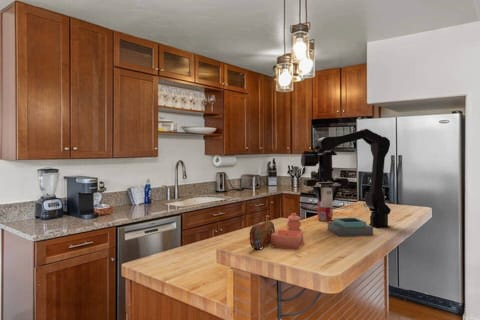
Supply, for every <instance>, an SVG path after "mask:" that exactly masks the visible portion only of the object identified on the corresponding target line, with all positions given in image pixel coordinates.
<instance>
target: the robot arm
mask: <svg viewBox="0 0 480 320" xmlns="http://www.w3.org/2000/svg"><path fill="white" fill-rule="evenodd" d="M358 140H363V141H364V142H365V143H366V144H368V145H369V146H370V152H371V155H372V167H371V169H372V170H371V179H370V189H369V191H365V193H364V195H365V196H364V199H363V200H364V202H365V205H366V206H367V208H368V209H369V211H370V216H369V218H370V219H369V221H370V223H369V225H368V226H371V227H373V228H376V229H379V228H380V227H384V228H391V226H390V225H389V214H390V213H391V211H392V209H391V208H390V207H389V206H388V205H387V204H386V199H385V194H384V191H383V182H384V173H385V172H384V171H385V158H386V156H387V154H388V153H389V150H390V146H391V140H390V139H389V138H388V137H386V136H382V135H380V134H378V133H376V132H373V131H372V130H370V129H368V128H364V129H360V130H358V131H353V132H352V131H351V132H350V133H345V134H342V135H336V136H325V137H320V138H318V140H317V142H316V145H315V147H314V148H313V150H312V151H310V150H309V151H307V150H302V152H301V153H302V154H301V157H300V165H301V167H303V168H304V167H306V168H307V167H316V166H317V165H318V168H317V171H316V170H313V171H310V178H305V179H304V180H303V185H302V186H306V187H310V188H312V189H313V190H314V192H315V194H316V198H317V201H318V200H319V202H321V188H322V187H321V186H320V185H330V186H331V187H330V188H332V192H333V202H335V199H336V196H337V195H338V193H339V190H340V188H342V187H343V186H349V185H350V180H349V178H347V177H335V179H334V177H333V176H334V175H333V171H334V168H333V156H337V155H338V153H337V152H335V151H334V149H335V148H338V146H340V145H342V144H343V145H344V144H347V143H351V142H355V141H358Z"/></svg>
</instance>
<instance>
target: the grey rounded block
mask: <svg viewBox="0 0 480 320" xmlns="http://www.w3.org/2000/svg"><path fill="white" fill-rule="evenodd" d="M333 202H334V201H333V192H332V188H331V187H321V202H320V207H334V205H333Z"/></svg>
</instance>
